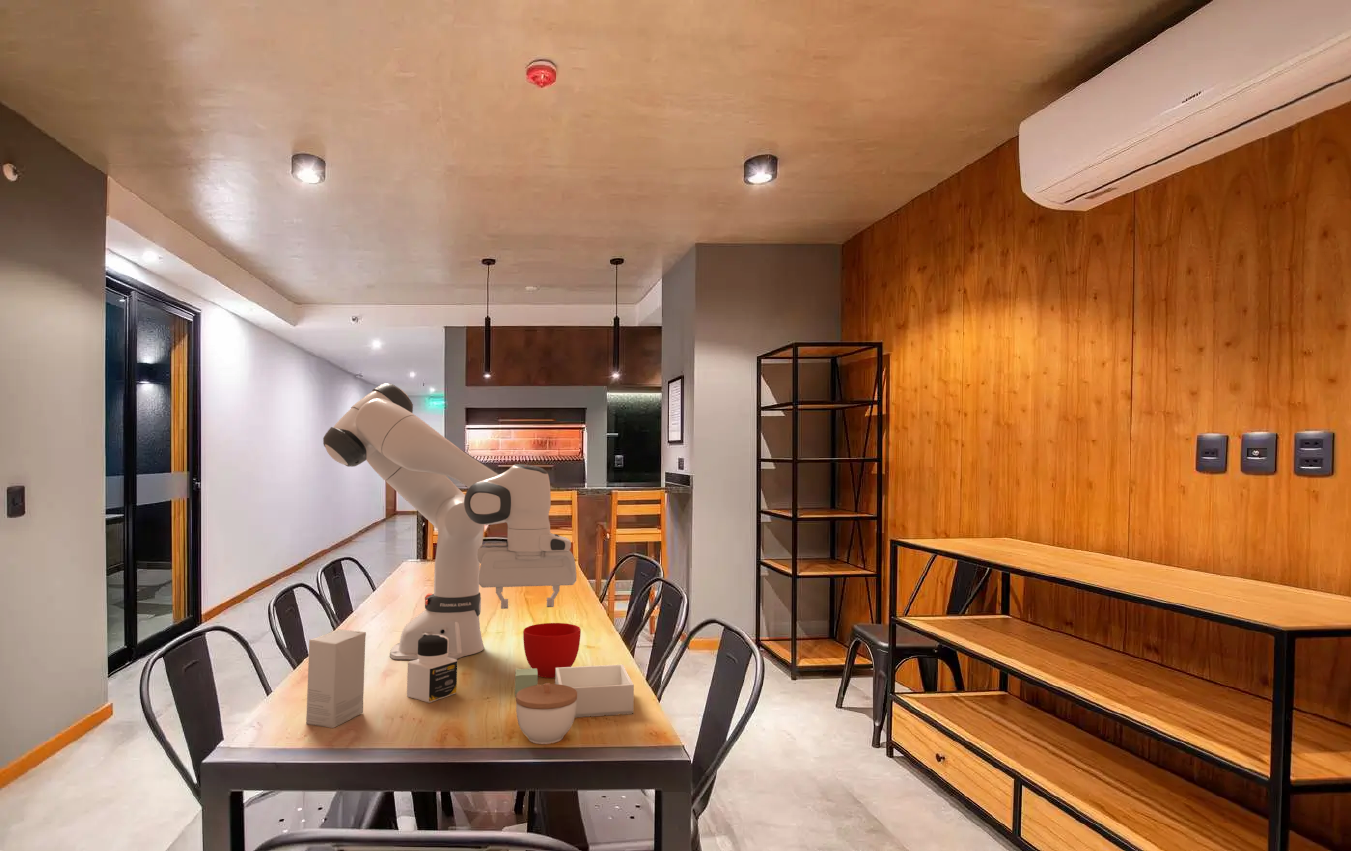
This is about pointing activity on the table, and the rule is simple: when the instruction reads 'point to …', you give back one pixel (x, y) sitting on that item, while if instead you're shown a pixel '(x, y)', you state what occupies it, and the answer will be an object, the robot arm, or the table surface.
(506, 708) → the table surface
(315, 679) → the skincare box
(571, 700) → the lidded jar
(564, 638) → the ceramic cup
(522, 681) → the sage cube
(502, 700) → the table surface
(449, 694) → the medicine bottle
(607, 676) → the tub
